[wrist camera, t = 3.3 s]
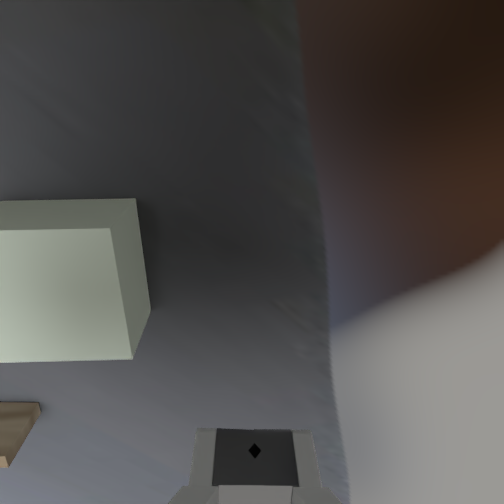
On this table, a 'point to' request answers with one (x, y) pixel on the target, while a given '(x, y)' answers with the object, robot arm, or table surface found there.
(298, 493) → the robot arm
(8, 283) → the sage block
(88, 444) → the table surface
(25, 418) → the wooden u-shaped bracket
